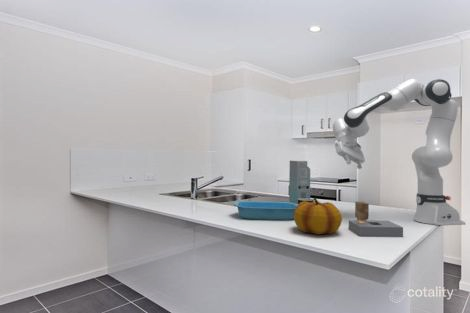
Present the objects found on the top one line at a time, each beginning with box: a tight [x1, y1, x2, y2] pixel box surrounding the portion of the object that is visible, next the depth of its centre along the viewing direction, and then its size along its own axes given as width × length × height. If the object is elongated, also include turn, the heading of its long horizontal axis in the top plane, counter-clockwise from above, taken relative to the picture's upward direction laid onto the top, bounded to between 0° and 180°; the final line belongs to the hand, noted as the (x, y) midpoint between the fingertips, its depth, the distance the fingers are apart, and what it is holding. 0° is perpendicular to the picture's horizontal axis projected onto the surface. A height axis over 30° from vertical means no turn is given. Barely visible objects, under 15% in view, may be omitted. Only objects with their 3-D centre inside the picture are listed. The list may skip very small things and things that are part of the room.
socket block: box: [348, 219, 404, 238], centre depth 136 cm, size 18×13×5 cm
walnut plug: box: [354, 201, 370, 220], centre depth 150 cm, size 4×6×11 cm, turn 0°
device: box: [288, 160, 311, 204], centre depth 186 cm, size 16×8×30 cm, turn 6°
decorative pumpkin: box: [293, 197, 343, 236], centre depth 137 cm, size 20×22×15 cm
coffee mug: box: [298, 198, 315, 204], centre depth 166 cm, size 12×9×10 cm
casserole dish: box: [232, 200, 298, 221], centre depth 168 cm, size 37×22×7 cm, turn 89°
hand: (354, 165), depth 158 cm, fingers open, 8 cm apart
